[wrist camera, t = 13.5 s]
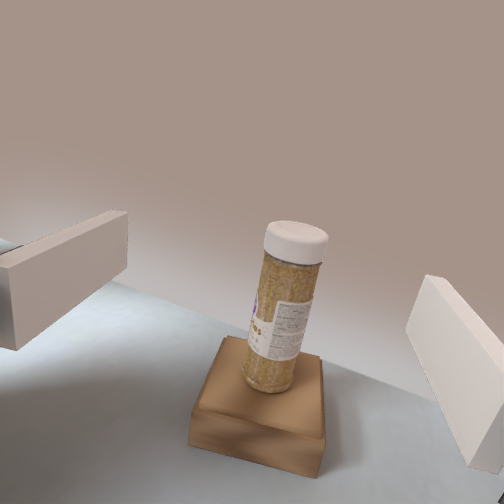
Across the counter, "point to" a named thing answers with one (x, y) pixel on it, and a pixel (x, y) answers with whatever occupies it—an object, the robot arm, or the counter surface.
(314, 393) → the walnut base
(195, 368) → the counter surface
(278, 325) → the sprinkles bottle
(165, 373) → the counter surface
